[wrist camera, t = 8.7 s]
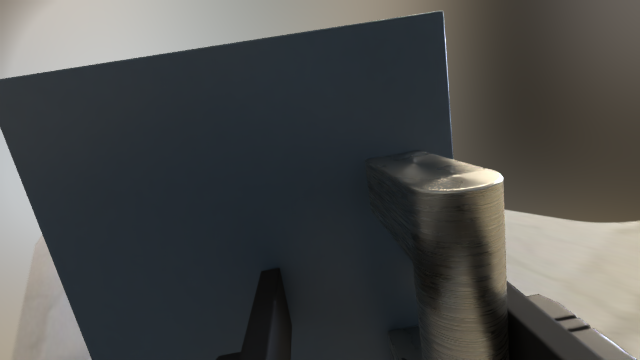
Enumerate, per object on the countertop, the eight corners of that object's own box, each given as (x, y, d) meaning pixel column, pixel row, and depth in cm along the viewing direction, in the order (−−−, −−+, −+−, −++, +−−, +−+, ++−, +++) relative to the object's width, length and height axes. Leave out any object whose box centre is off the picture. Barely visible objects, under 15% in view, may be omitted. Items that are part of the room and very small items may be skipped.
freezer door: (574, 618, 10) (599, -102, 5) (61, 754, 9) (-397, 39, 5) (461, 416, 16) (431, 18, 12) (159, 484, 15) (8, 84, 11)
